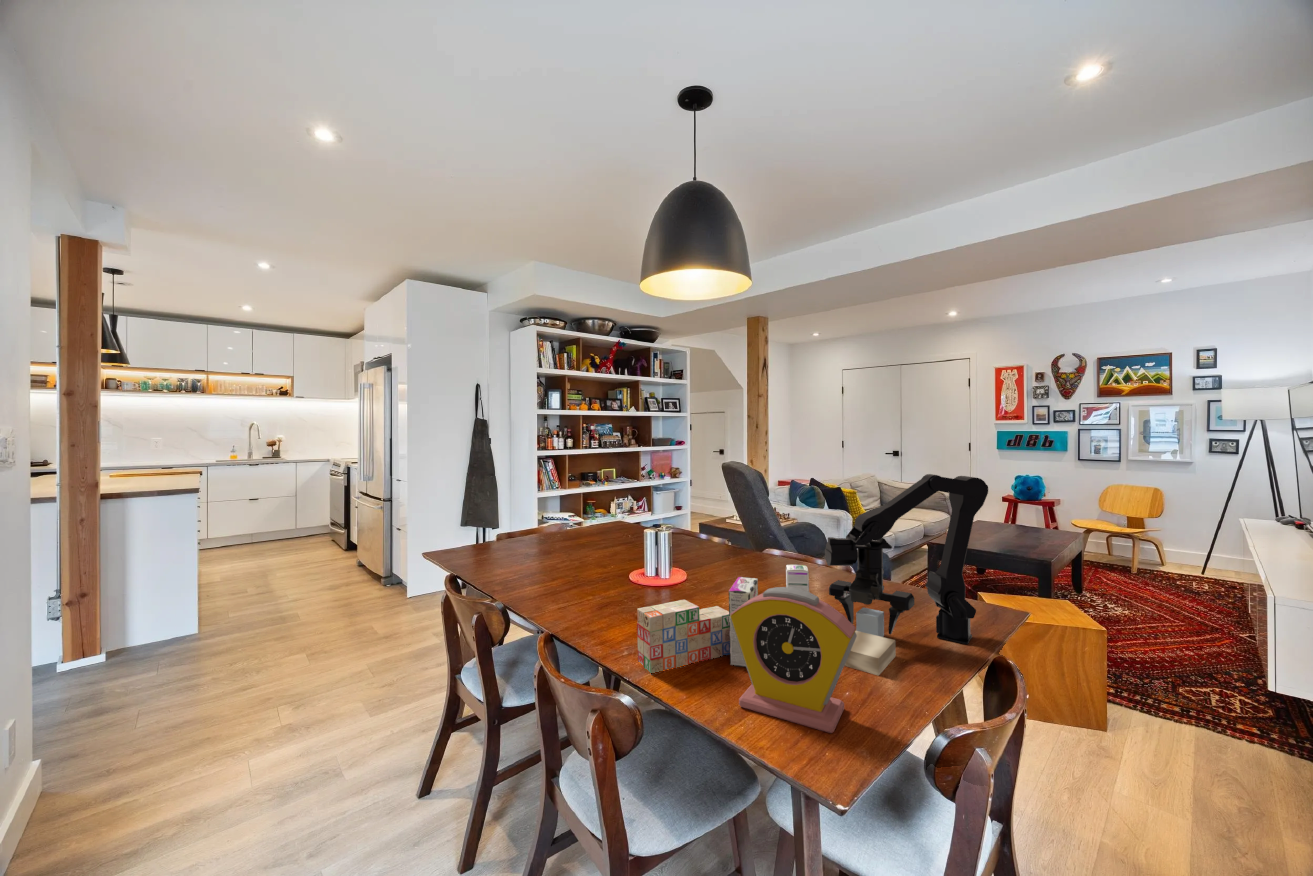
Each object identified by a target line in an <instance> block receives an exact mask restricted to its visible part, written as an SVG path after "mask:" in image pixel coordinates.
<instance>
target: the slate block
mask: <svg viewBox="0 0 1313 876" xmlns="http://www.w3.org/2000/svg"><path fill="white" fill-rule="evenodd" d="M855 619H856V621H855V622H856V623H855V625H856V626H855V628H856V629H855V630H856V631H860V632H864V633H868V634H872V635H876V636H880V637H884V636H885V611H881V610H878V609H872V608H867V607H861V609H859V610H858V611H856V613H855Z"/></svg>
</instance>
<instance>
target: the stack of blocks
mask: <svg viewBox="0 0 1313 876" xmlns="http://www.w3.org/2000/svg"><path fill="white" fill-rule="evenodd" d="M636 609H637V610H636V612H637V615H636V616H637V623H636V636H637V663H638V662H640V663H641V664H642V665H643V667H644V668H645V669H647V670H648V671H649V672H650V673H655V672H659V671H663V670H667V669H672V668H676V669H678V668H677V667H680V666H683V665H688V664H691V663H694V664H696V663H695V662H698V663H700V662H699V661H702V662H705V661H704V660H706V661H708V659H709V660H713V658H714V659H716V658H721V657H724V656H723V655H726V656H730V633H729V610H727V609H724V608H722V607H720V606H719V605H716V606H711V607H710V606H709V607H706V608H705V607H704V608H701V609H700V606H698V605H697V604H695V603H692V602H690V601H689V600H686V599H679V600H676V601H670V602H663V603H661V604H660V603H659V604H656V605H655V604H654V605H651V606H644V607H639V608H636ZM720 656H721V657H720ZM691 665H692V664H691ZM688 666H689V665H688ZM643 667H642V668H643ZM644 668H643V669H644ZM680 668H681V667H680ZM645 669H644V670H645ZM672 670H673V669H672ZM659 673H660V672H659ZM655 674H656V673H655Z"/></svg>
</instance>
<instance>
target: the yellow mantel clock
mask: <svg viewBox="0 0 1313 876" xmlns="http://www.w3.org/2000/svg"><path fill="white" fill-rule="evenodd" d="M730 617H731V619H730V620H731V623H732V626H733V629H734V632H735V635H736V638H737V641H738V644H739V647H740V650H741V653H742V656H743V659H744V662H745V665H746V667H745V668H746V670H747V674H748V677H749V679H750V680H749V681H750V682H751V685H750V686H749V687H748V688H747V689H746V690H745V692H743V694H742V695H740V697H739V698H738V705H739V707H740V708H744V709H746V710H749V711H754V712H756V713H760V714H764V715H768V716H771V717H774V718H778V719H781V720H784V721H788V722H791V723H795V724H798V725H801V726H804V727H808V728H811V729H813V730H814V729H815V730H819V731H820V732H825V733H829V734H833V733H834V732H835V731H836V730H835V729H836V728H837V725H838V724H839V721H840V718H841V716H842V714H843V712H844V710H845V702H844V701H843V700H841V699H839V698H835V697H832V696H833V693H834V690H835V689H836V686H837V684H838V682H839V679H840V676H841V674H842V672H843V669H844V668H845V666H844V665H845V663H846V660H847V658H848V656H849V653H850V651H851V649H852V646H853V644H854V642H855V639H856V637H857V635H856V633H855V631H856V626H855V625H854V623H853V624H852V623H851V622H850V621H849V620H848V618H847V616H845V615H844V614H843V613H841V612H840V611H838V610H837V609H835V607H834V606H832V605H831V604H830V603H828V602H825V601H823V600H821V599H820V598H819V596H817V595H816V594H813V593H812V592H810V591H809V592H807V591H804V590H801V589H797V588H794V587H786V586H777V587H770V588H767V589H766V590H764V591H763V592H762V593H760V594H758V596H756V597H754V598H751V599H750V600H748V601H747V602H746V603H744V604H743V605H741V606H740V607H739V608H737V609H736V610H735V611H733V612H732V613H731V616H730Z"/></svg>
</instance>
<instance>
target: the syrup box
mask: <svg viewBox="0 0 1313 876" xmlns="http://www.w3.org/2000/svg"><path fill="white" fill-rule="evenodd" d="M809 572H810V571H809V568H808V565H805V564H786V565H785V587H794V588H797V589H801V590H804V591H807V592H810V578H809V577H810V574H809Z"/></svg>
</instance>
